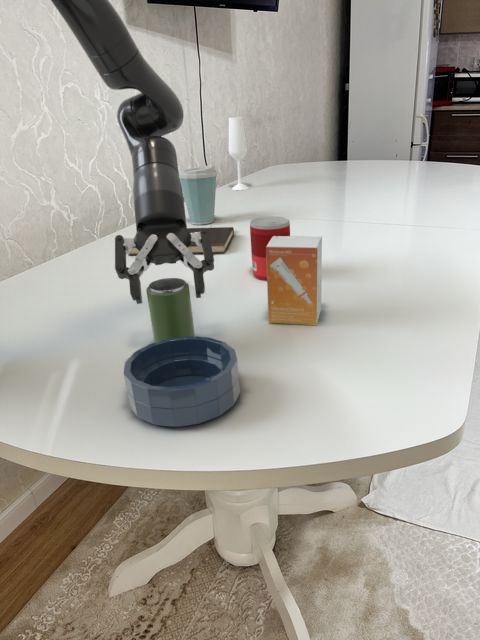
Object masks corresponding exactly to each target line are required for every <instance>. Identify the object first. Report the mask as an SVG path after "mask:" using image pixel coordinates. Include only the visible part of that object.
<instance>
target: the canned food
mask: <svg viewBox="0 0 480 640" xmlns="http://www.w3.org/2000/svg"><path fill="white" fill-rule="evenodd" d="M249 236H250V237H249V239H250V250H251V251H250V252H251V266H252V267H251V269H252V274H253V276H254V277H255V278H256V279H257V280H261V281H266V282H267V261H266V246H267V245H268V243H269V241H270V240H271V238H272V237H273V236H291V223H290V219H289V218H286V217H284V216H260V217H255V218H253V219H251V220H250V221H249Z"/></svg>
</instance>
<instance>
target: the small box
mask: <svg viewBox="0 0 480 640" xmlns="http://www.w3.org/2000/svg"><path fill="white" fill-rule="evenodd" d="M322 255H323V236H322V235H319V236H315V235H314V236H309V235H308V236H304V235H290V236H273V237H272V238H271V240H270V241H269V243H268V245H267V246H266V261H267V281H266V286H267V311H268V323H269V324H286V325H287V324H289V325H291V324H292V325H306V326H318V323H319V319H320V315H321V311H322V269H323V268H322V266H323V265H322V263H323V262H322V261H323V260H322V259H323V257H322Z"/></svg>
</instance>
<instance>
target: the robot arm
mask: <svg viewBox="0 0 480 640" xmlns="http://www.w3.org/2000/svg"><path fill="white" fill-rule="evenodd" d="M50 1H51V3H52V4H53V6H54V7H55V9H56V10H57V11H58V13H59V14H60V16H61V17H62V18H63V20H64V22H65V23H66V25H67V26H68V28H69V29H70V31H71V33H72V34H73V35H74V37H75V38H76V40H77V42H78V44H79V45H80V47H81V48H82V50H83V51H84V53H85V55H86V56H87V58H88V60H89V61H90V62H91V64H92V66H93V67H94V69H95V70H96V73H97V74H98V75H99V77H100V78H101V80H102V81H103V83H104V84H105V85H106V86H107V87H108V89H110V90H114V91H122V90H132V89H133V90H136V91H138V92H139V93H138V94H135V95H133V96H130V97H129V98H126V99H124V100H123V101H121V103H119V106H118V108H117V113H116V121H117V124H118V126H119V129H120V131H121V134H122V135H123V137H124V139H125V142H126V144H127V147H128V150H129V154H130V156H131V163H132V164H131V165H132V174H133V175H132V177H133V185H132V195H133V206H134V217H135V219H134V220H135V229H136V232H135V235H134V237H126V238H124V236H123V235H121V234H117V235H116V236H115V237H114V270H115V272H116V275H117V277H118V278H119V279H120V280H124V279H125V280H128V282H129V291H130V292H129V294H130V297H131V299H132V301H135V302H136V304H137V305H141V304H143V296H142V283H141V280H140V279H141V277H142V276H143V274H144V272H147V271H148V269H149V268H150V266H151V265H152V264H154V265H155V266H161V265H165V264H170V265H171V264H173V265H174V264H177V262H179V261H180V262H181V263H182V264H183V266H185V267H186V268H188V269H189V270H190V271H192V274H193V282H194V290H195V291H194V292H195V298H196V299H201V298H202V295H203V294H205V292H206V287H205V277H204V274H205V273H206V272H209V271H211V272H212V271H214V269H215V257H214V254H213V252H212V247H211V242H210V237H209V232H208V229H207V228H208V227H201V228H202V229H201V230H200V232H195V233H190V232H189V231H188V229H187V228H188V226H187V218H186V209H185V198H184V194H183V190H182V185H181V182H180V178H179V173H180V170H179V164H178V154H177V150H176V148H175V145H174V144H173V142H172V141H171V140H169V139H168V138H166V137H164V136H166V135H169V134H171V133H174V132H176V131H178V130H179V129H180V128H181V127H182V125H183V123H184V115H185V114H184V108H183V105H182V103H181V100H180V99H179V97H178V95H177V94H176V92H175V91H173V89H172V88H171V87H170V86H169V85H168V84H167V83H166V81H165V80H164V79H162V77H161V76H159V74H158V73H157V72H156V71H155V70H154V68H153V67H152V66H151V65H150V64H149V62H147V60H146V59H145V58H144V55H143V54H142V52H141V51H140V49H139V48H138V46H137V44H136V42H135V40H134V38H133V37H132V35H131V33H130V31H129V30H128V28H127V26H126V24H125V22H124V20H123V19H122V17H121V16H120V14H119V13H118V11H117V10H116V8H115V7H114V5H113V4H112V3H111V1H110V0H50ZM191 241H194V242H195V243H196V244H197V246H199V247H202V249H203V254H202V255H203V258H204V259H203V260H200V259H199V258H197V256H196V255H195V254H193V253H192V252H191V250H190V249H188V247H189V246H190V244H191ZM132 247H136V248H137V249H138V250H139V251H140V252H139V253H138V254H137V256H135V259H134V261H133V262H132V263H131V265H130V266H129V267H128V266H127V255H128V254H129V253H130V251H131V248H132Z"/></svg>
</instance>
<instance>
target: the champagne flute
mask: <svg viewBox="0 0 480 640" xmlns="http://www.w3.org/2000/svg"><path fill="white" fill-rule="evenodd" d="M228 153H229V155H230V156H231V158H232V159H234V160H235V161H236V167H237V181H238V182H237V184H236V185H234V186H233V187H232V188H231V190H232V191H245V190H249V189H250V187H249V186H247V185H246V184H244V183H243V182H242V167H241V161H242V160H243V159H244V157H246V155H247V153H248V146H247V139H246V132H245V123H244V118H243V116H229V117H228Z"/></svg>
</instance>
